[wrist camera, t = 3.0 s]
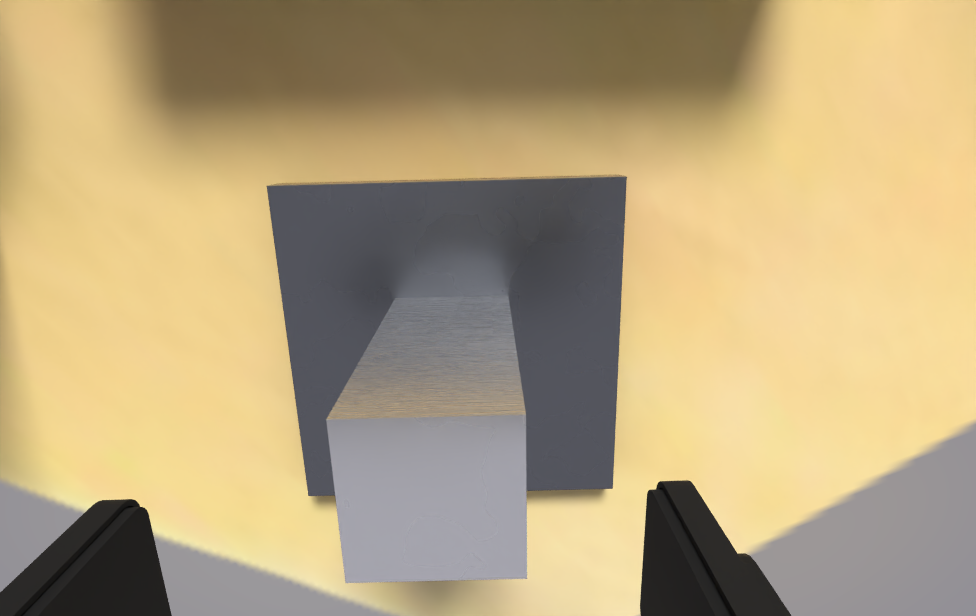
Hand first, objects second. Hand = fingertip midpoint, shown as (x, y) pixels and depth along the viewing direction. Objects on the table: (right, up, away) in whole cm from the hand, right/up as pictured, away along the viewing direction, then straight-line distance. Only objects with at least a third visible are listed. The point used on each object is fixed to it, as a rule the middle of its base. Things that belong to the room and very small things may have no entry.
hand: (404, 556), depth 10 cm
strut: (0, +3, +10) cm, 10 cm away
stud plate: (0, +3, +11) cm, 11 cm away
